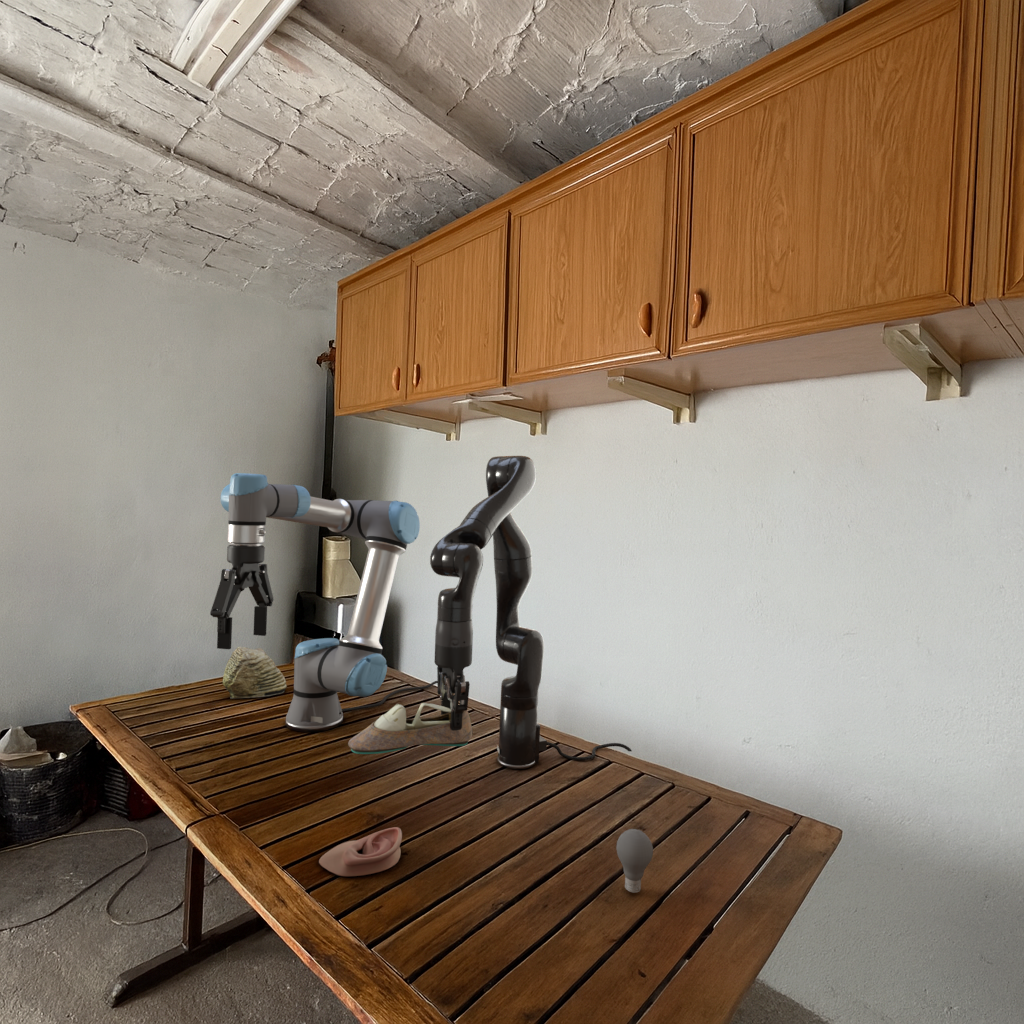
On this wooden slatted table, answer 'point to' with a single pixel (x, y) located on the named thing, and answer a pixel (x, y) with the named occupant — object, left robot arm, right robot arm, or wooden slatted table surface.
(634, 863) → the light bulb
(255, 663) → the fossil
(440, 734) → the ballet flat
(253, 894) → the wooden slatted table surface
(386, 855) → the anatomical model
